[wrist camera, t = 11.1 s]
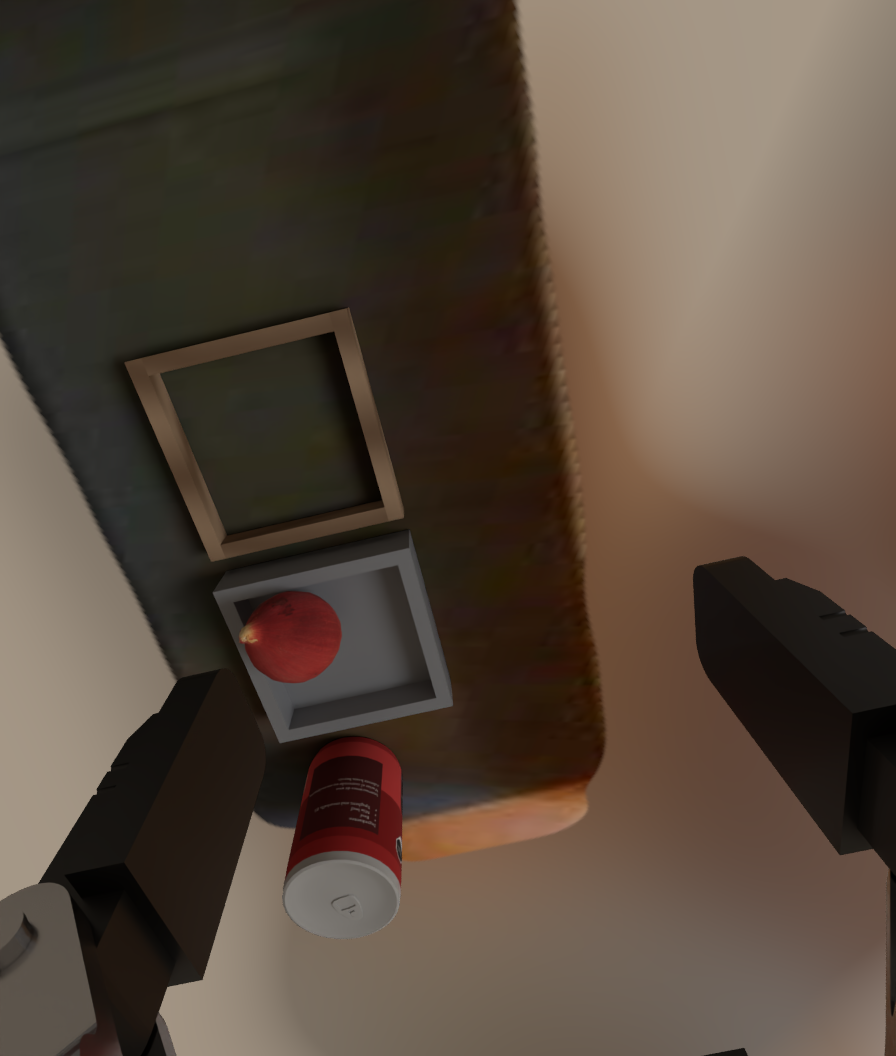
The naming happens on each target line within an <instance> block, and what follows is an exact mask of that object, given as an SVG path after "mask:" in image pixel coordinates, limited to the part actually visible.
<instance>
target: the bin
mask: <svg viewBox="0 0 896 1056" xmlns="http://www.w3.org/2000/svg"><path fill="white" fill-rule="evenodd" d="M286 591H300V592H310V593H312V594H315V595H317V596H319V597H321V598H322V599H323V600H325V601H326V602H327V603H328V604H330V606H331V607H332V608H333V609H334V610H335V612H336V614H337V616H338V618H339V620H340V623H341V631H342V639H341V642H340V648H339V651H338V653H337V654H336V656H335V658H334V660H333V662H332V663H331V664H330V665H329V666H328V667H327V668H326V669H325V670H324V671H323V672H322V673H321V674H319V675H318V676H317V677H315V678H313V679H310V680H308V681H306V682H303V683H282V682H278V681H274V680H272V679H270V678H269V677H267V676H266V675H264V674H263V673H261V672H260V671H258V670H257V669H256V668H255V667H254V666H253V664H252V662H251V660H250V658H249V656H248V654H247V652H246V650H245V644H241V643H239V633H240V631H241V629H242V628H243V627H245V626H246V623H247V621H248V619H249V617H250V616H251V614H252V613H253V611H254V610H255V609H256V608H257V607H258V606H259V605H260V604H261V603H262V602H264V601H266V600H268V599H269V598H271V597H273V596H275V595H277V594H279V593H282V592H286ZM213 595H214V597H215V599H216V601H217V604H218V606H219V608H220V610H221V613H222V615H223V617H224V619H225V621H226V624H227V626H228V628H229V630H230V633H231V635H232V637H233V639H234V642H235V644H236V646H237V648H238V651H239V653H240V655H241V657H242V660H243V662H244V664H245V666H246V669H247V671H248V673H249V675H250V677H251V680H252V682H253V684H254V686H255V689H256V691H257V693H258V695H259V698H260V700H261V702H262V704H263V707H264V709H265V711H266V713H267V716H268V718H269V720H270V722H271V725H272V727H273V729H274V731H275V733H276V736H277V738H278V740H279V742H280V743H283V742H288V741H292V740H297V739H302V738H306V737H311V736H316V735H320V734H325V733H330V732H334V731H339V730H343V729H348V728H353V727H357V726H362V725H367V724H371V723H376V722H381V721H385V720H390V719H394V718H399V717H404V716H408V715H413V714H418V713H422V712H427V711H431V710H436V709H441V708H445V707H450V706H453V701H452V690H451V680H450V676H449V672H448V669H447V665H446V661H445V658H444V654H443V650H442V647H441V643H440V639H439V636H438V632H437V628H436V625H435V621H434V617H433V614H432V610H431V606H430V603H429V599H428V595H427V592H426V588H425V584H424V581H423V577H422V573H421V570H420V566H419V562H418V559H417V555H416V551H415V548H414V544H413V540H412V537H411V533H410V529H409V530H405V531H400V532H396V533H391V534H387V535H383V536H378V537H374V538H369V539H365V540H361V541H356V542H352V543H347V544H343V545H339V546H334V547H330V548H325V549H321V550H317V551H312V552H308V553H303V554H299V555H295V556H290V557H286V558H281V559H277V560H273V561H268V562H264V563H260V564H255V565H251V566H246V567H242V568H238V569H233V570H229V571H226V573H225V574H224V576H223V577H222V579H221V580H220V582H219V583H218V585H217V586H216V588H215V590H214V591H213Z"/></svg>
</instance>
